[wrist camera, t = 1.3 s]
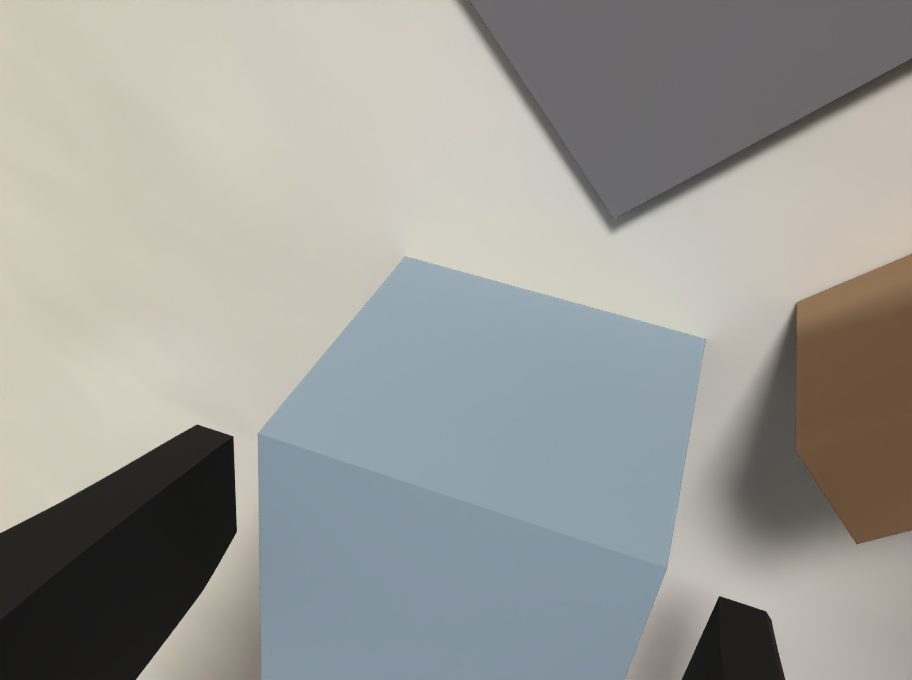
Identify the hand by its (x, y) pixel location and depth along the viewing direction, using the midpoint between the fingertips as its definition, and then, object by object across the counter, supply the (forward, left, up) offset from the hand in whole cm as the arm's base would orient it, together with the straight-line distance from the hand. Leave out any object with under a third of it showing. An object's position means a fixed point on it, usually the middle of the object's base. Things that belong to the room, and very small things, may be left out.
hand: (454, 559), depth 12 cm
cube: (0, 0, -4) cm, 4 cm away
